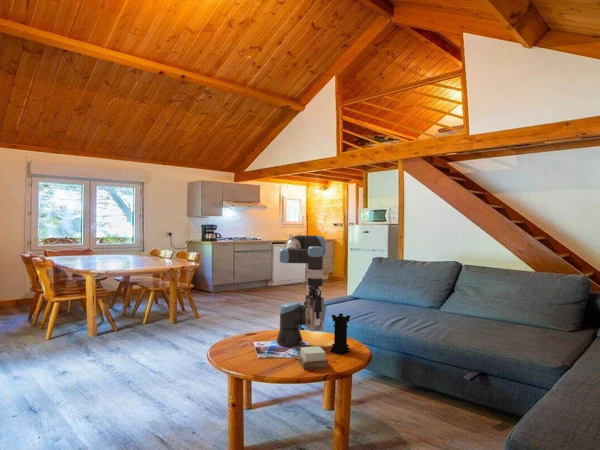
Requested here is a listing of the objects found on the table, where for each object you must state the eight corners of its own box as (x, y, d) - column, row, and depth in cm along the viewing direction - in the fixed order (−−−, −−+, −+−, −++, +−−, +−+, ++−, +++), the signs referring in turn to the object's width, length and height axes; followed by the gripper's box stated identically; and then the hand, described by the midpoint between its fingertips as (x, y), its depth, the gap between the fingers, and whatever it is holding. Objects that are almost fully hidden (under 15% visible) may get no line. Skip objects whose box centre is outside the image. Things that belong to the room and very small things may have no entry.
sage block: (300, 355, 207) (300, 347, 207) (319, 354, 210) (319, 346, 209) (305, 361, 197) (305, 353, 197) (325, 360, 200) (325, 352, 200)
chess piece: (340, 355, 219) (340, 317, 219) (329, 351, 225) (330, 315, 225) (350, 352, 224) (351, 315, 224) (340, 348, 230) (340, 313, 230)
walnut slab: (298, 362, 208) (298, 354, 208) (320, 361, 211) (320, 353, 211) (303, 371, 196) (304, 362, 196) (327, 369, 199) (327, 361, 199)
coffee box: (304, 327, 206) (305, 295, 206) (316, 326, 208) (316, 294, 208) (311, 331, 198) (312, 298, 197) (323, 330, 200) (324, 297, 200)
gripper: (302, 274, 213) (301, 317, 213) (313, 281, 191) (312, 328, 191) (316, 274, 214) (315, 317, 215) (329, 280, 193) (328, 328, 193)
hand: (314, 322), depth 203 cm, fingers closed on coffee box, 9 cm apart
